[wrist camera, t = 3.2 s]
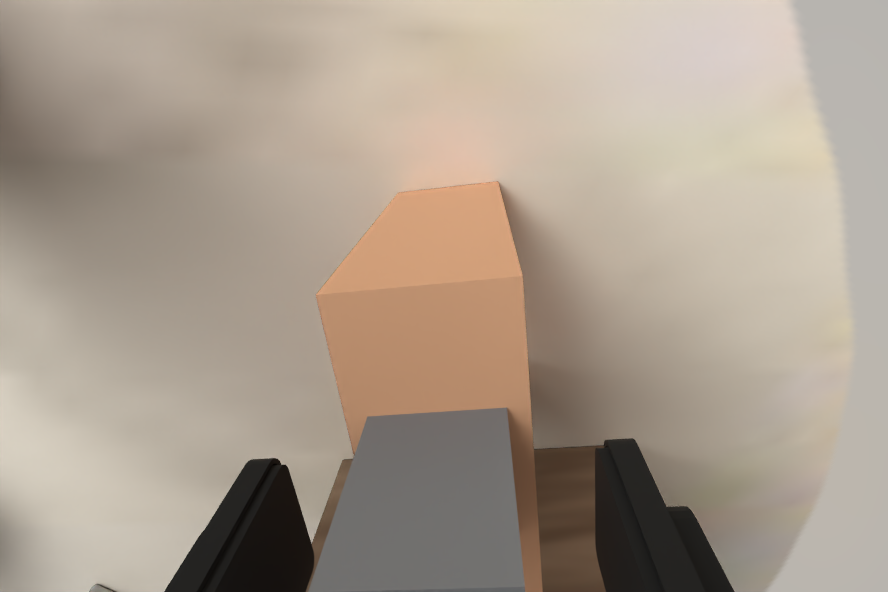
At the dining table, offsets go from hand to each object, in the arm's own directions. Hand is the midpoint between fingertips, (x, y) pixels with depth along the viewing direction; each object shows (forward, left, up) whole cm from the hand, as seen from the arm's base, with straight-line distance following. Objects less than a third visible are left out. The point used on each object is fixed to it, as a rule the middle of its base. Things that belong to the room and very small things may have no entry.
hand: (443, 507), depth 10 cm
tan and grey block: (0, 0, -12) cm, 12 cm away
